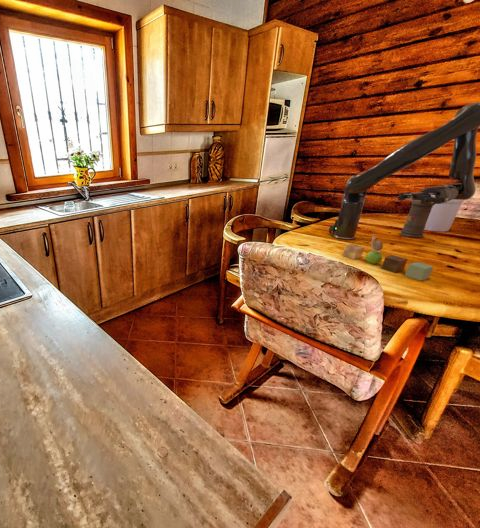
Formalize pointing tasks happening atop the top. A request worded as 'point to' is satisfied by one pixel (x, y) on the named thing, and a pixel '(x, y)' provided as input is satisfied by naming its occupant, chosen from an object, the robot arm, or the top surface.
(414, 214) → the container
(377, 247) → the snail figurine
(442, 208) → the utensil holder
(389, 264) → the walnut block
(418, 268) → the sage block
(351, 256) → the mauve cube
